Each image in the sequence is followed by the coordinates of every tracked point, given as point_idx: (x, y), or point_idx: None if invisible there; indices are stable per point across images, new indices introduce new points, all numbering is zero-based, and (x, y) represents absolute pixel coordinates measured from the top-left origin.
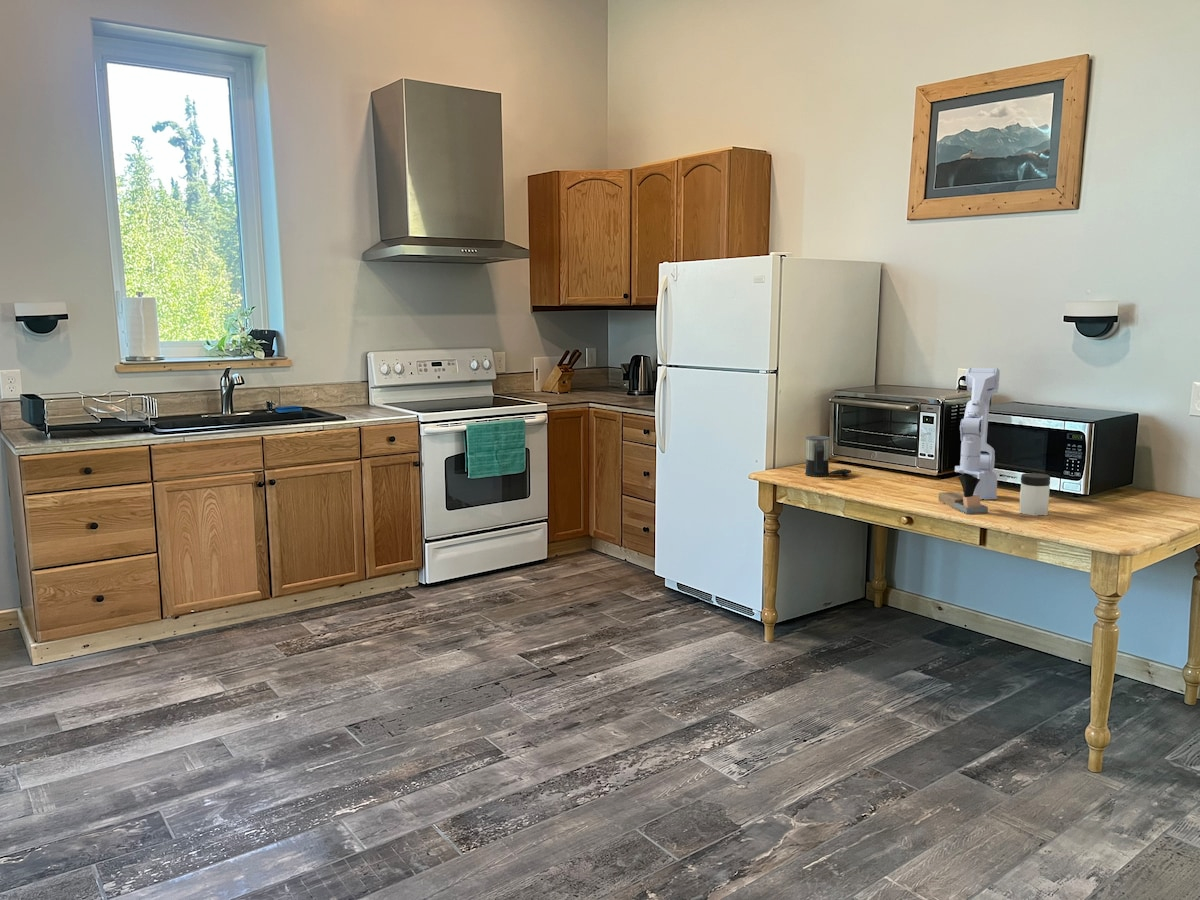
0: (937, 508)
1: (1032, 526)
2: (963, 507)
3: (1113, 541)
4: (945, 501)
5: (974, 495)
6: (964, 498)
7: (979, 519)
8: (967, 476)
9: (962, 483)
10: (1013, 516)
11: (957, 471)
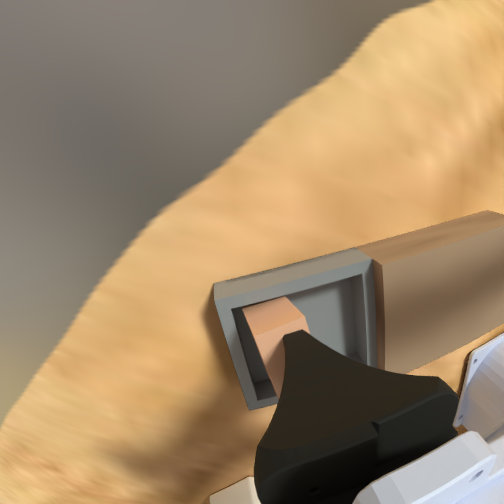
0: (364, 148)
1: (52, 450)
2: (256, 286)
3: (3, 500)
4: (450, 228)
5: None
6: (280, 321)
7: (98, 319)
8: (332, 491)
9: (350, 382)
10: (193, 454)
11: (433, 452)
